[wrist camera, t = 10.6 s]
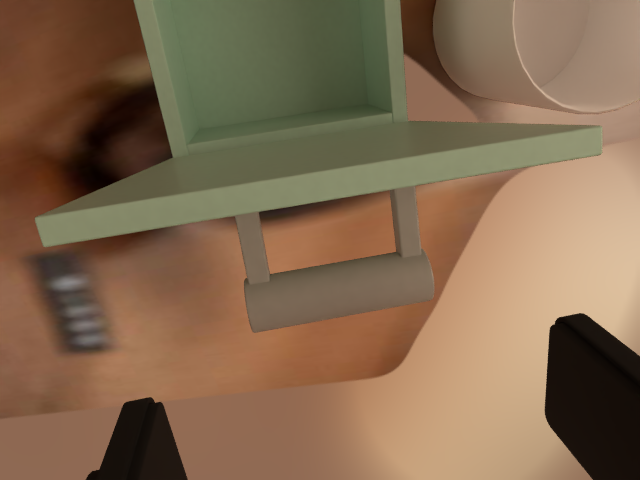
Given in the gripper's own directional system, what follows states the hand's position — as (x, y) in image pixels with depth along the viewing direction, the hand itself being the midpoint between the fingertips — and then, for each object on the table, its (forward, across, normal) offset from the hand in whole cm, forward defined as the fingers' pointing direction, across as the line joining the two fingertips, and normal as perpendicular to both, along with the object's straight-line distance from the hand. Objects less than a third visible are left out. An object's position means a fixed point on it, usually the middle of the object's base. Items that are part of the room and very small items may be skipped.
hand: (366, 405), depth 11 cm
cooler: (+29, 0, -11) cm, 31 cm away
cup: (+29, -18, -8) cm, 36 cm away
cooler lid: (+12, 0, -4) cm, 13 cm away
